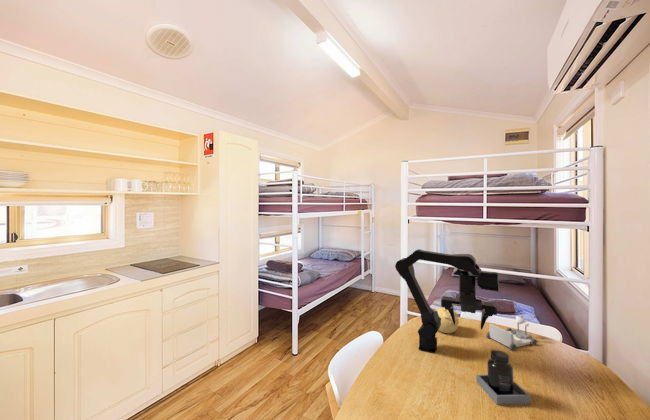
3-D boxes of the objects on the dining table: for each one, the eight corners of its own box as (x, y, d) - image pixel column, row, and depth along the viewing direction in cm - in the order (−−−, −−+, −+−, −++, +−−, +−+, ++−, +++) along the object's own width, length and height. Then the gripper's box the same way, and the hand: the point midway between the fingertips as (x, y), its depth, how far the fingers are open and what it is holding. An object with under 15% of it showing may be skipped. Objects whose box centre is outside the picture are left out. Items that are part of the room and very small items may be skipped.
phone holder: (514, 312, 123) (541, 322, 112) (514, 332, 123) (541, 344, 112) (485, 317, 117) (511, 328, 106) (486, 338, 117) (511, 352, 106)
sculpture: (457, 338, 117) (457, 315, 117) (429, 331, 123) (429, 309, 123) (459, 328, 127) (459, 306, 127) (434, 323, 133) (433, 302, 133)
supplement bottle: (515, 391, 82) (515, 353, 82) (511, 402, 78) (510, 362, 78) (490, 380, 87) (490, 345, 87) (485, 390, 83) (484, 353, 83)
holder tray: (497, 404, 77) (497, 396, 77) (476, 382, 88) (476, 374, 88) (530, 404, 78) (530, 395, 78) (506, 381, 88) (506, 374, 88)
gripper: (440, 289, 97) (440, 330, 97) (498, 296, 89) (499, 341, 89) (441, 282, 107) (442, 319, 107) (494, 287, 99) (495, 328, 99)
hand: (467, 326), depth 100 cm, fingers open, 9 cm apart
